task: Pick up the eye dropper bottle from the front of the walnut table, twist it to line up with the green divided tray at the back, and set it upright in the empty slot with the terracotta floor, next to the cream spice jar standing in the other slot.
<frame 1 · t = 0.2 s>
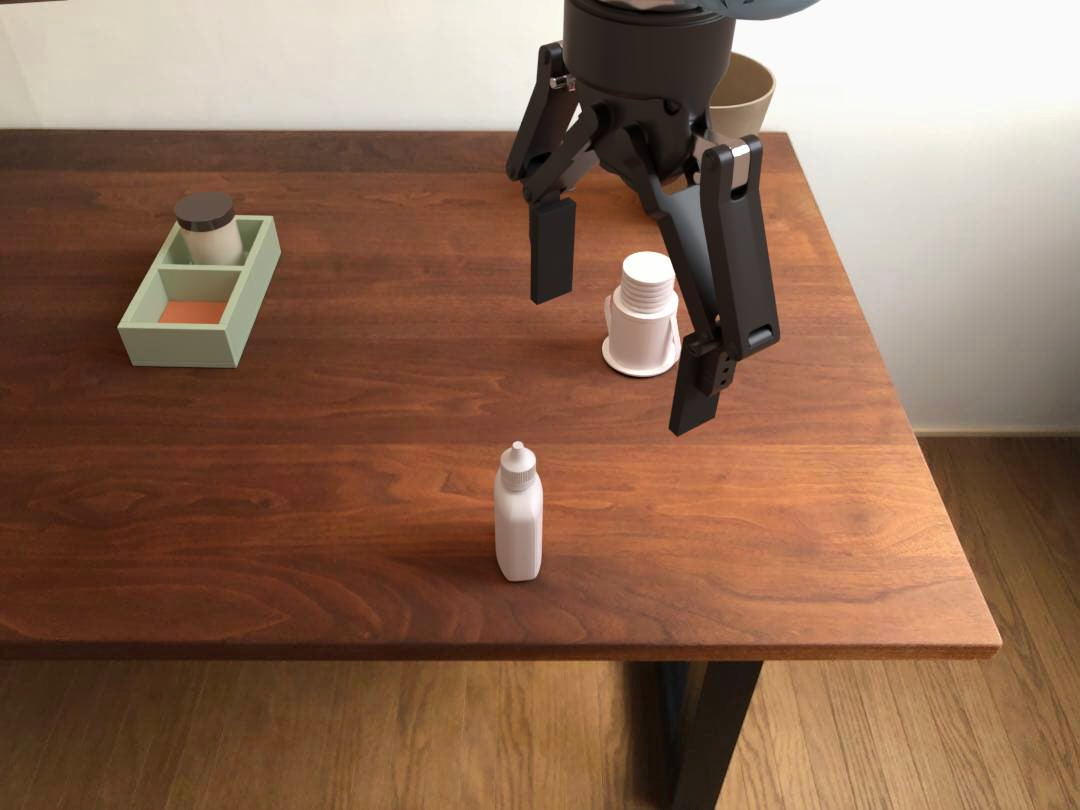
hand: (616, 355, 53), 21 cm above the table, tool pointing down, fingers open, 13 cm apart
downlight: (638, 355, 84), on the table
spice jar: (223, 273, 91), point 1 cm above the table, touching green divided tray
plant pot: (682, 210, 103), on the table
eye dropper bottle: (518, 554, 68), on the table
green divided tray: (212, 305, 89), on the table
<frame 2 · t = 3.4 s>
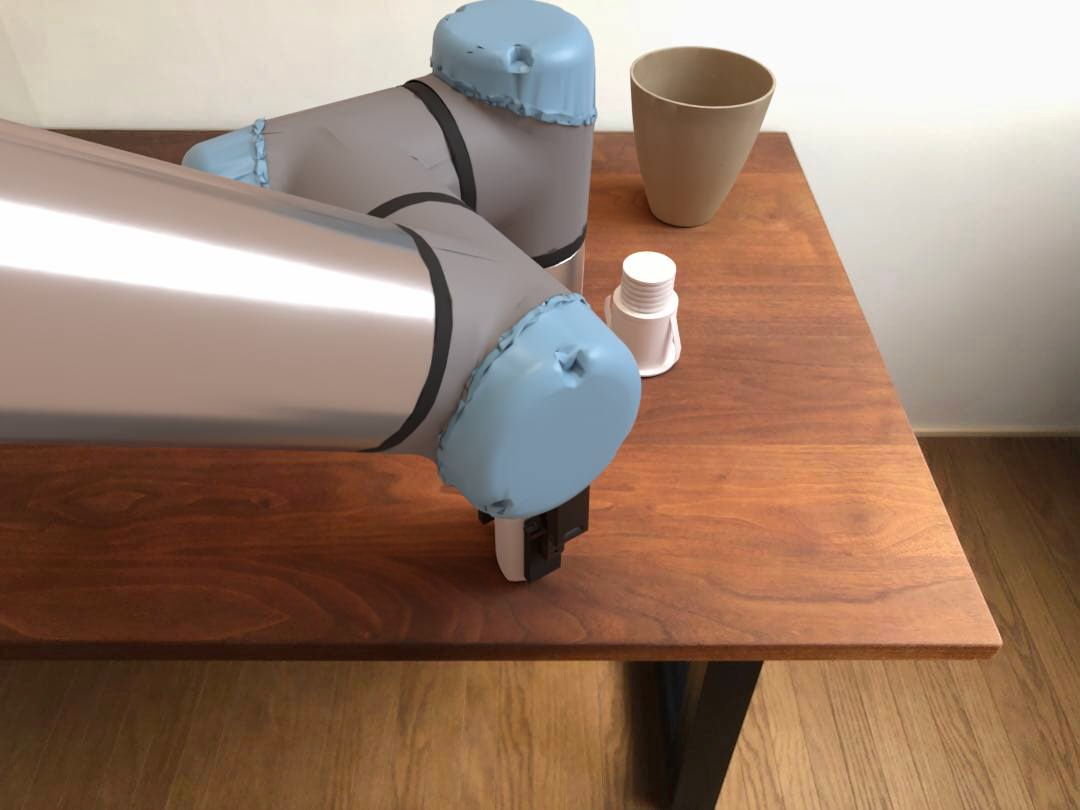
hand: (518, 542, 67), 1 cm above the table, tool pointing down, fingers closed on eye dropper bottle, 6 cm apart
eye dropper bottle: (518, 554, 68), on the table, touching gripper
everything else where it was.
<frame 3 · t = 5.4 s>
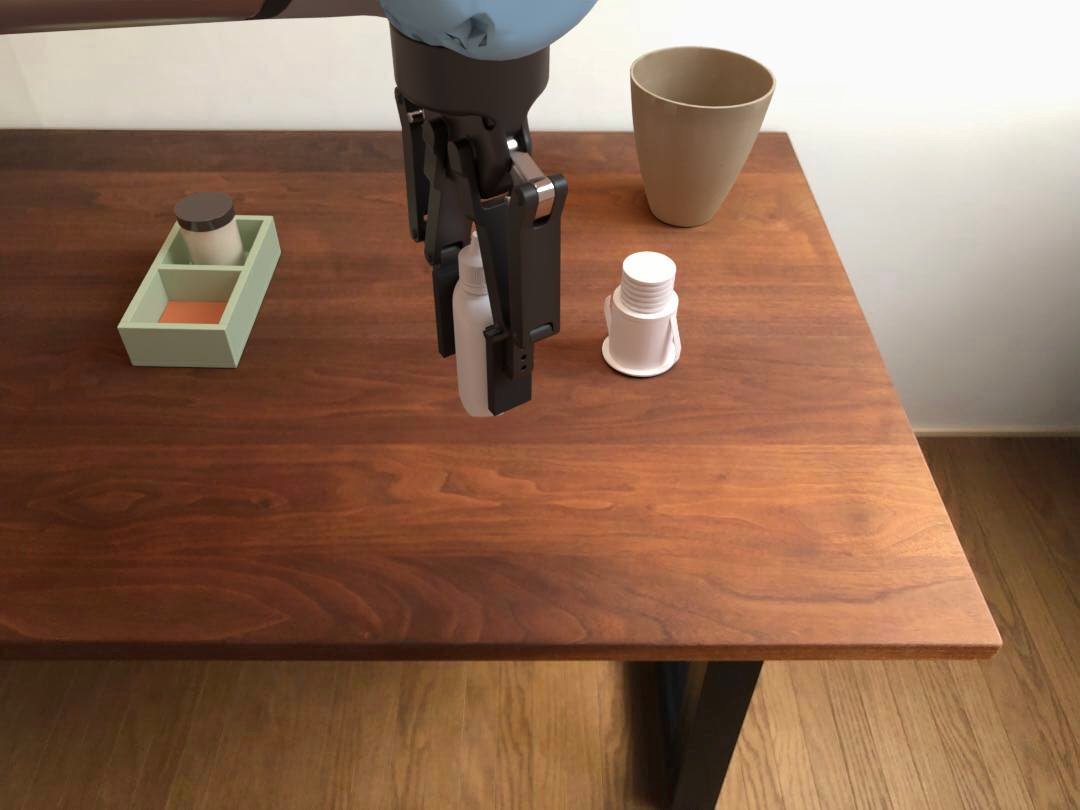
hand: (483, 374, 57), 17 cm above the table, tool pointing down, fingers closed on eye dropper bottle, 6 cm apart
eye dropper bottle: (485, 392, 58), point 15 cm above the table, touching gripper
everything else where it was.
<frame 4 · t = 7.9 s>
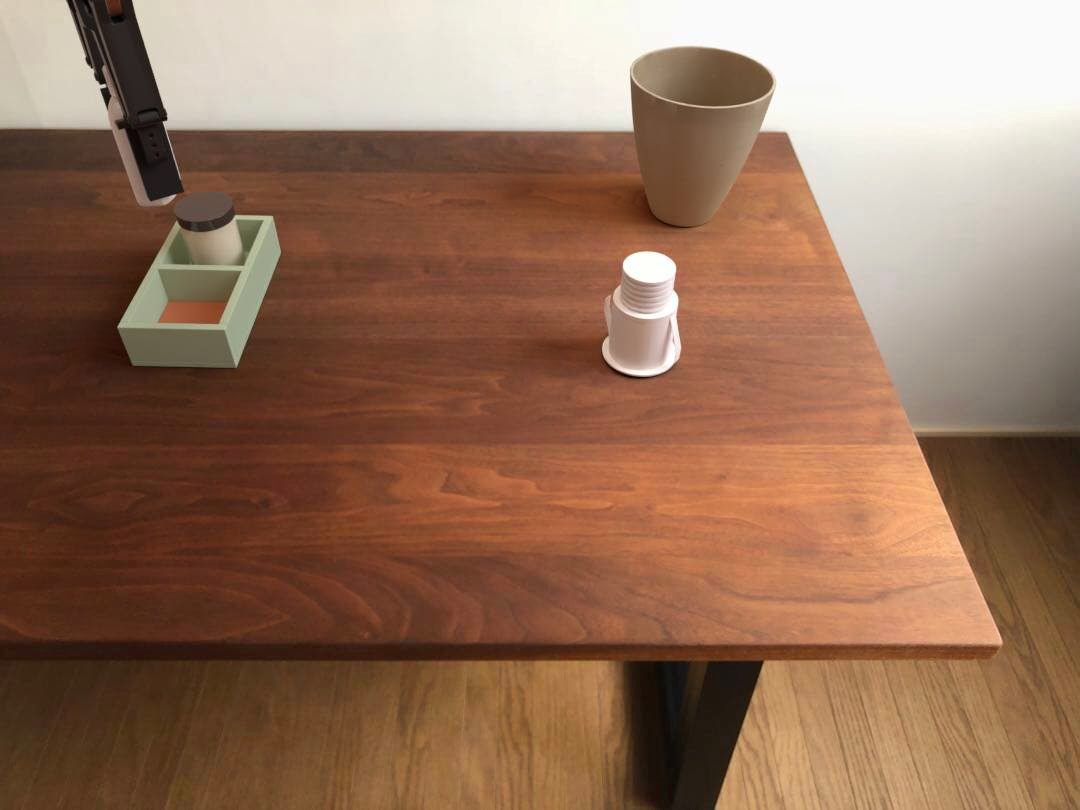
hand: (154, 176, 73), 17 cm above the table, tool pointing down, fingers closed on eye dropper bottle, 6 cm apart
eye dropper bottle: (160, 192, 74), point 16 cm above the table, touching gripper
everything else where it was.
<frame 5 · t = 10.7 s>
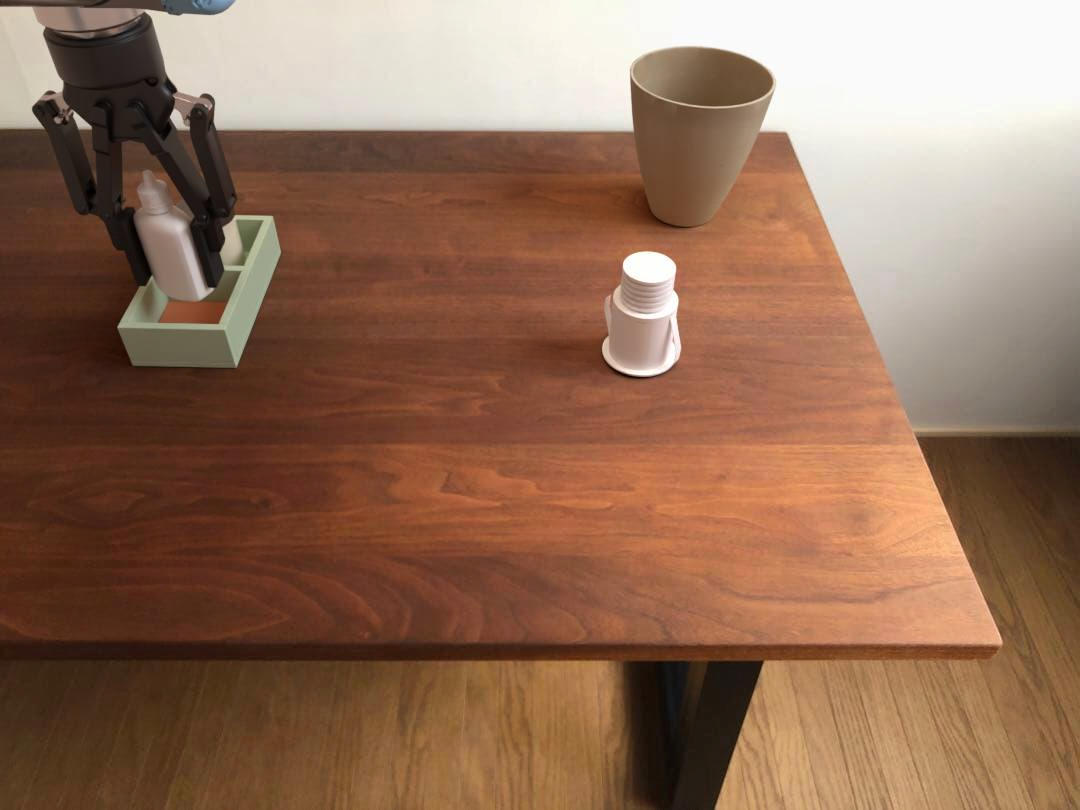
hand: (181, 277, 81), 7 cm above the table, tool pointing down, fingers closed on eye dropper bottle, 6 cm apart
eye dropper bottle: (186, 290, 82), point 5 cm above the table, touching gripper
everything else where it was.
when the fingers open (3 cm above the table, at t = 13.3 s): eye dropper bottle stays where it is, resting on green divided tray.
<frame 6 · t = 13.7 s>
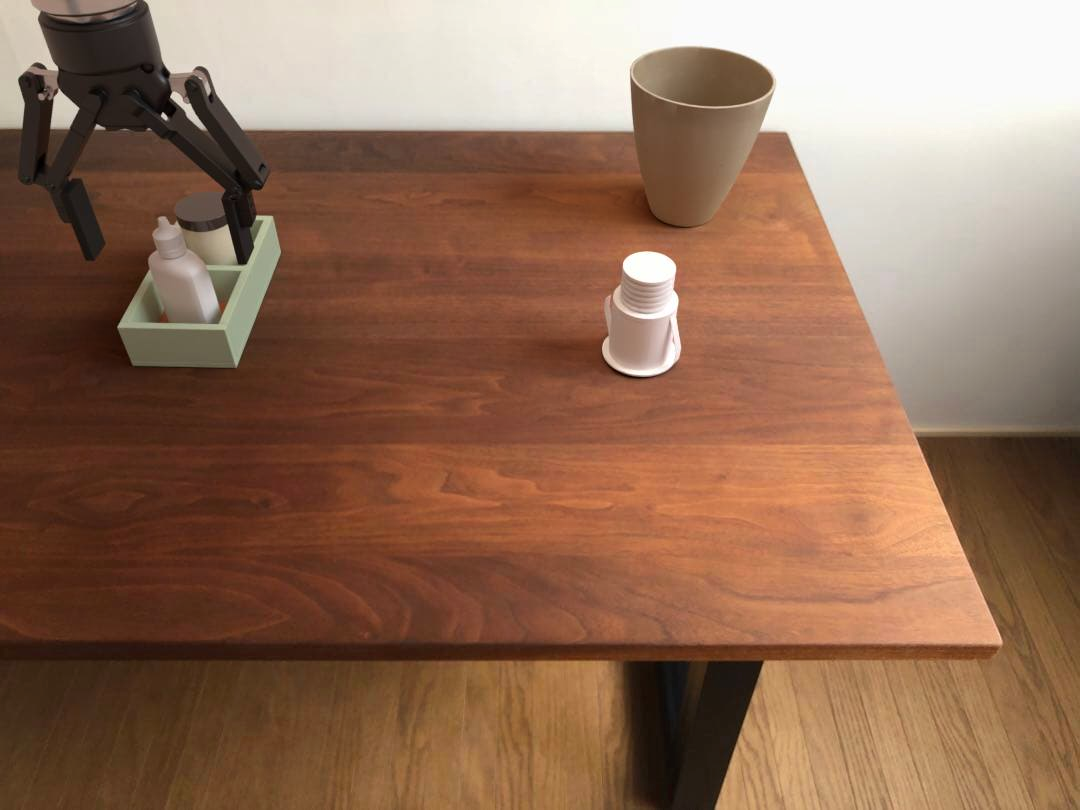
hand: (171, 254, 79), 9 cm above the table, tool pointing down, fingers open, 13 cm apart
eye dropper bottle: (198, 328, 85), point 1 cm above the table, touching green divided tray
everything else where it was.
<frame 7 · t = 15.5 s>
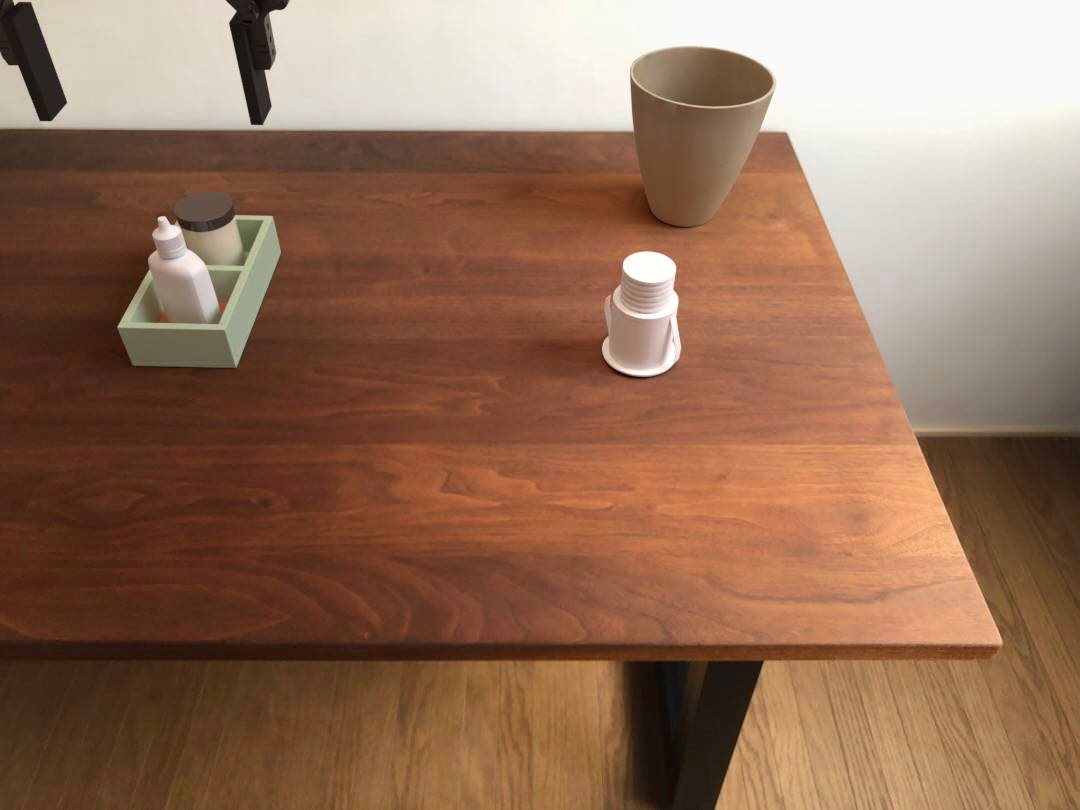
hand: (158, 114, 59), 28 cm above the table, tool pointing down, fingers open, 13 cm apart
nothing on the table moved.
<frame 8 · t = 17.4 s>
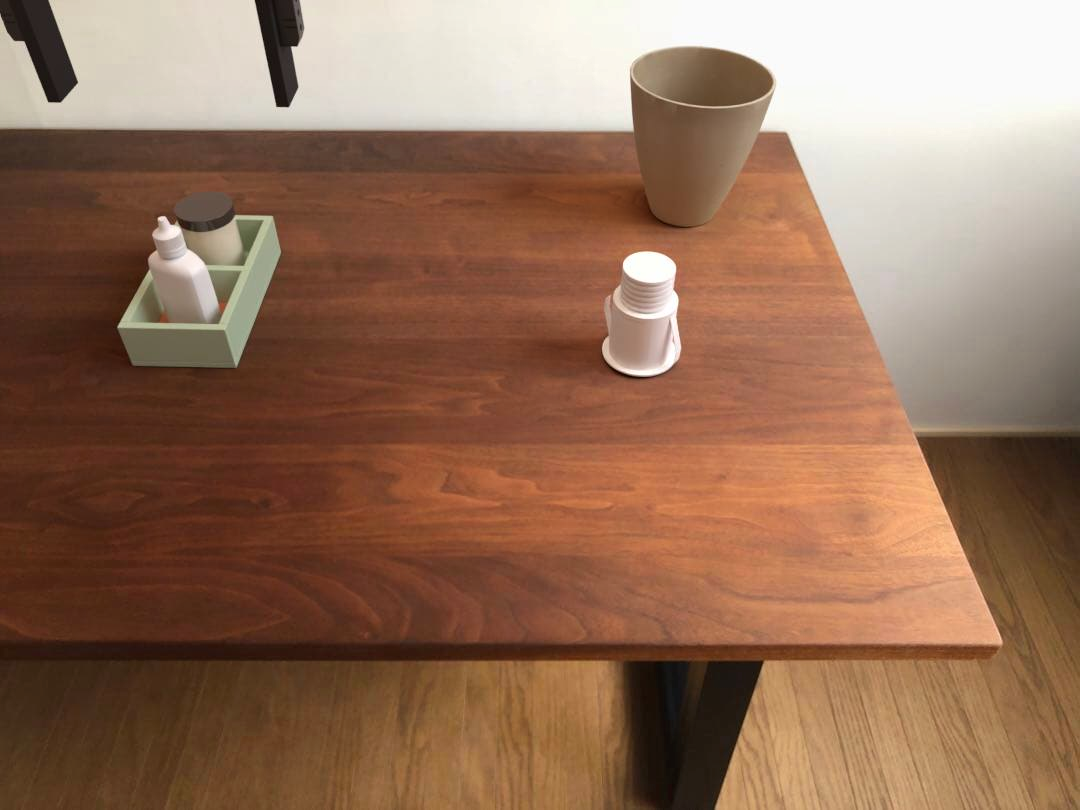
hand: (175, 95, 54), 31 cm above the table, tool pointing down, fingers open, 13 cm apart
nothing on the table moved.
at the end: eye dropper bottle 0.1 cm from the target spot in the green divided tray, point 0.6 cm above the green divided tray's base; eye dropper bottle tilted 0°; spice jar moved 0.0 cm from its start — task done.
